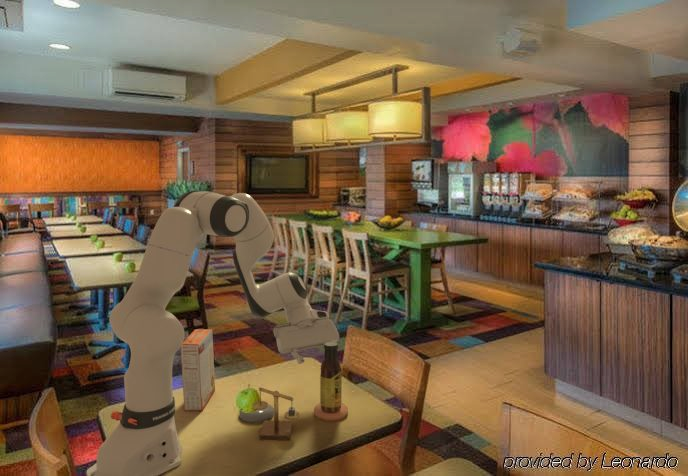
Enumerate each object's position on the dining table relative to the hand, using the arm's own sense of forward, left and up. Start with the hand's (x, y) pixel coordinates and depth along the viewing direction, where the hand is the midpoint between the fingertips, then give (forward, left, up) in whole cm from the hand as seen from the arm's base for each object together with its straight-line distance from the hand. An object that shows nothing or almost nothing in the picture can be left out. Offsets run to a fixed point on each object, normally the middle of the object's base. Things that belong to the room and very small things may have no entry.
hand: (315, 359), depth 162 cm
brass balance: (-22, -2, -13) cm, 26 cm away
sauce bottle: (-5, -9, -12) cm, 16 cm away
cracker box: (-19, +30, -13) cm, 38 cm away
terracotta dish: (-5, -9, -13) cm, 16 cm away
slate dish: (-17, +9, -13) cm, 23 cm away
